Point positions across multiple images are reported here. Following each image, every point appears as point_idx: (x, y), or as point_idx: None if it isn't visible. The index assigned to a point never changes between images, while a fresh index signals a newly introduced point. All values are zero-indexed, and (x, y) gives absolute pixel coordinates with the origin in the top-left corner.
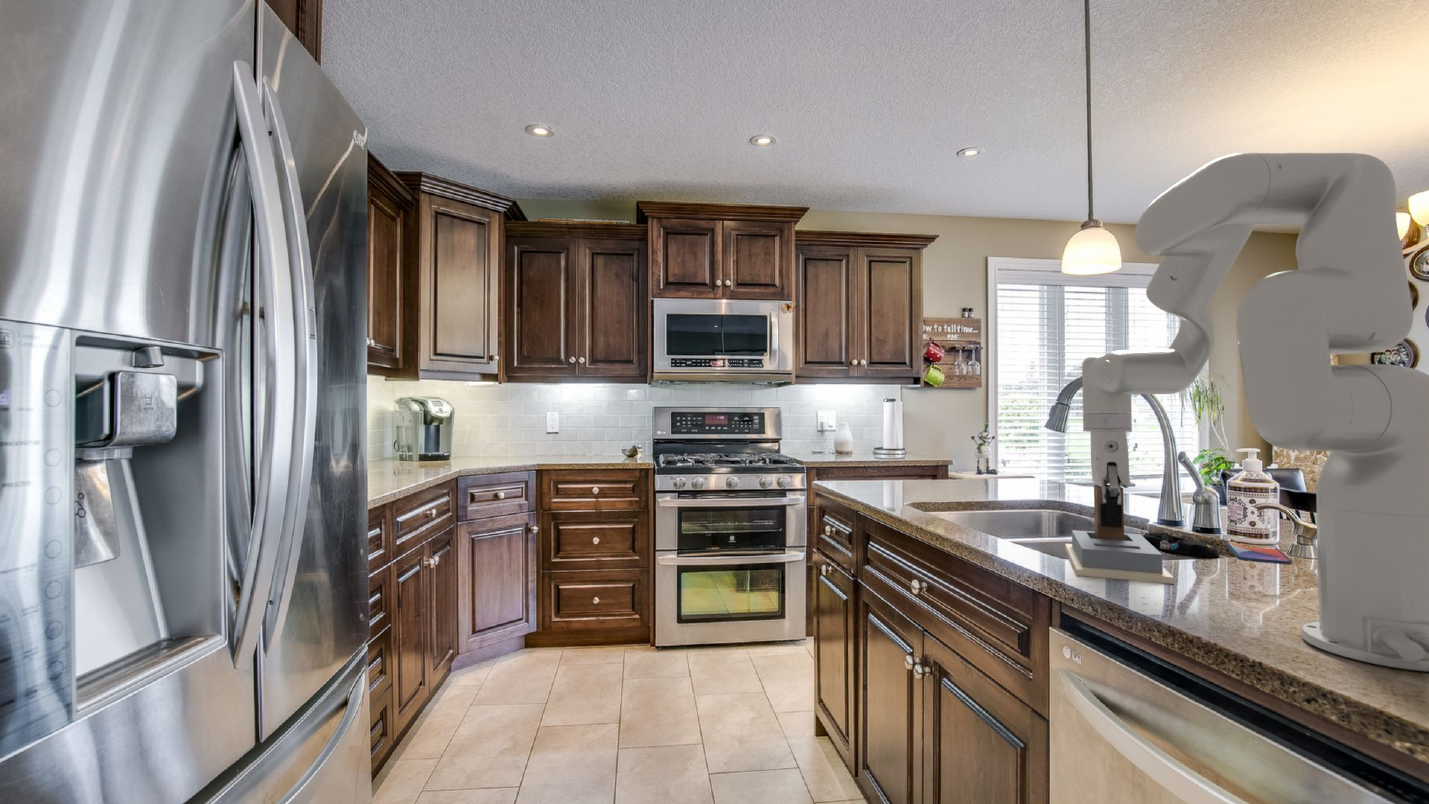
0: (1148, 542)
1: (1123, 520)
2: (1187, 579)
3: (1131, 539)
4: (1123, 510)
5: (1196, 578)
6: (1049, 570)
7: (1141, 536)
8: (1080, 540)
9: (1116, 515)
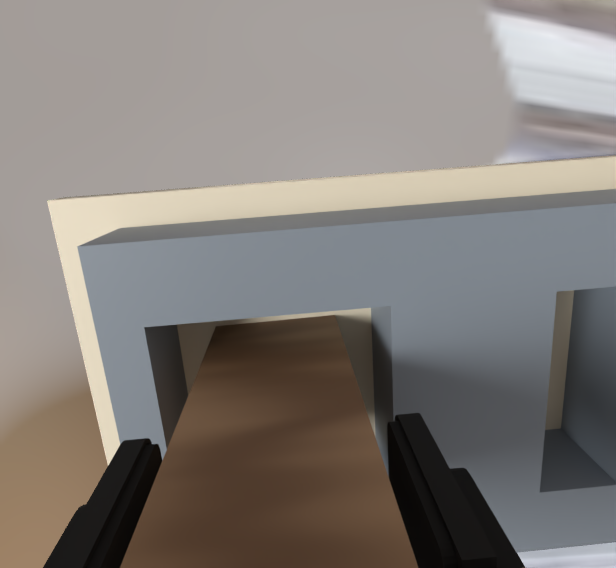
0: (396, 225)
1: (368, 423)
2: (608, 71)
3: (310, 311)
4: (389, 484)
5: (573, 24)
6: (603, 546)
7: (166, 246)
8: None
9: (484, 508)
